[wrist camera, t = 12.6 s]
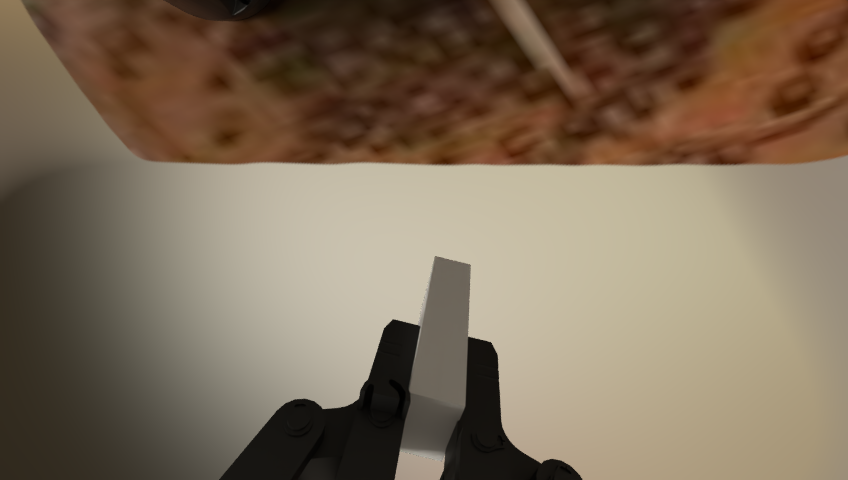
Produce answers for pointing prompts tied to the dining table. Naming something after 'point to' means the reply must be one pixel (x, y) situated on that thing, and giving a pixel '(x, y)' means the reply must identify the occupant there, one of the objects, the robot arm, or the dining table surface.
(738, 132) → the dining table surface
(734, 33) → the dining table surface
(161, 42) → the dining table surface
